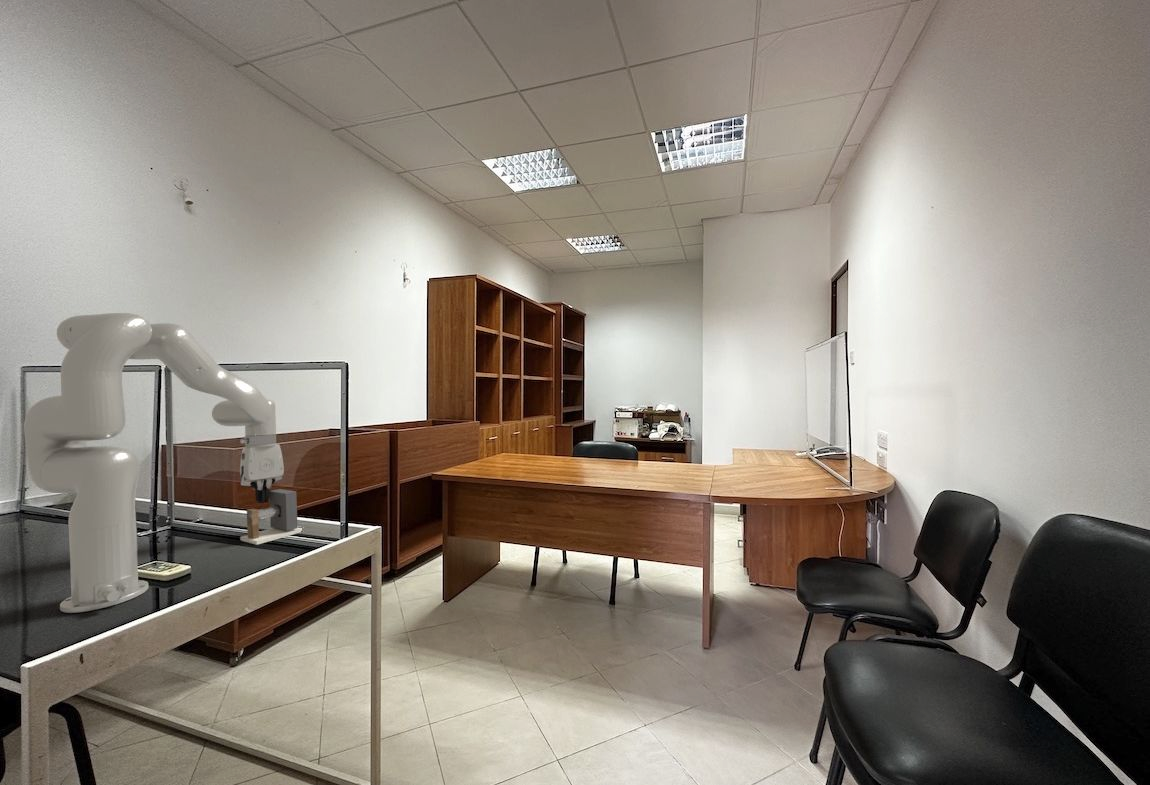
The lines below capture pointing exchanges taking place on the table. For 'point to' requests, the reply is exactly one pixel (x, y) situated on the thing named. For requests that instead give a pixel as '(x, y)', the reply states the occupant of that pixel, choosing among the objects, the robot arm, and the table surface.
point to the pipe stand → (265, 535)
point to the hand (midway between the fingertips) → (262, 502)
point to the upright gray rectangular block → (284, 509)
